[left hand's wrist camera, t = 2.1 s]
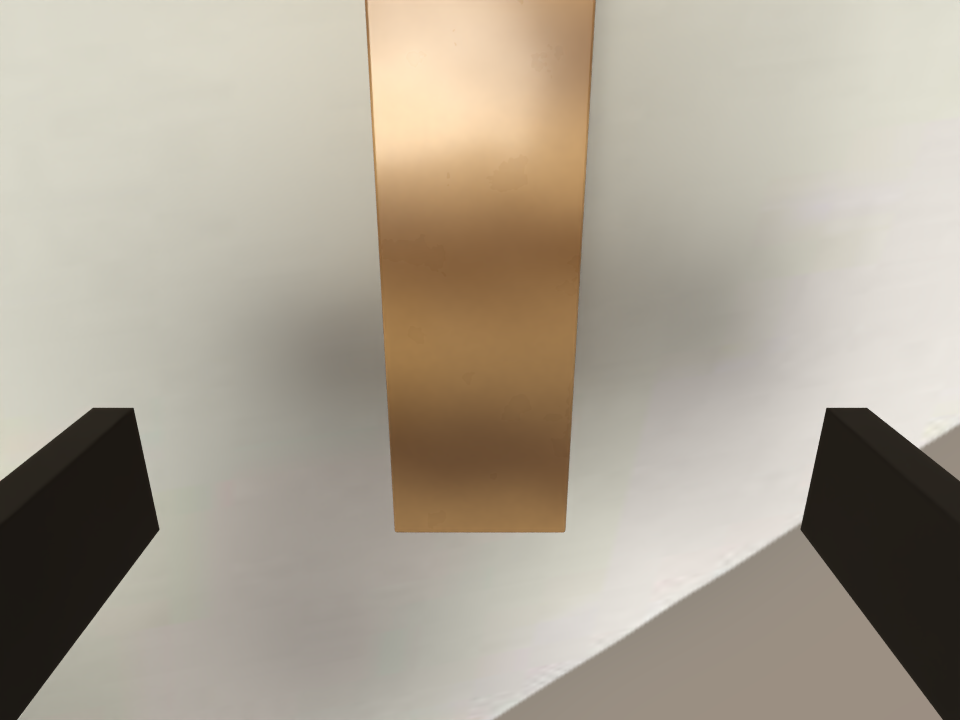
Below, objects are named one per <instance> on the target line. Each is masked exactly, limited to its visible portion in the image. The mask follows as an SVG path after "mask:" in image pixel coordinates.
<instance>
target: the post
mask: <svg viewBox="0 0 960 720" xmlns="http://www.w3.org/2000/svg"><path fill="white" fill-rule="evenodd" d="M595 5H596V0H365V11H366V28H367V46H368V64H369V82H370V100H371V117H372V135H373V153H374V171H375V188H376V206H377V224H378V242H379V259H380V277H381V295H382V313H383V330H384V348H385V366H386V384H387V401H388V419H389V437H390V455H391V472H392V490H393V508H394V526H395V532H565V528H566V510H567V493H568V475H569V458H570V441H571V423H572V406H573V388H574V371H575V353H576V336H577V319H578V301H579V284H580V266H581V249H582V232H583V214H584V197H585V179H586V162H587V144H588V127H589V110H590V92H591V75H592V57H593V40H594V23H595Z"/></svg>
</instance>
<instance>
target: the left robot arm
mask: <svg viewBox="0 0 960 720" xmlns="http://www.w3.org/2000/svg"><path fill="white" fill-rule="evenodd" d="M158 531H159V525H158V520H157V516H156V511H155V506H154V502H153V497H152V492H151V488H150V483H149V478H148V473H147V469H146V464H145V459H144V455H143V450H142V445H141V441H140V436H139V431H138V427H137V422H136V417H135V413H134V408H92V409H91V410H90V411H88V412H87V413H86V414H85V415H83V416H82V417H81V418H80V419H78V420H77V421H76V422H75V423H73V424H72V425H71V426H70V427H68V428H67V429H66V430H64V431H63V432H62V433H61V434H59V435H58V436H57V437H56V438H54V439H53V440H52V441H51V442H49V443H48V444H47V445H45V446H44V447H43V448H42V449H40V450H39V451H38V452H37V453H35V454H34V455H33V456H32V457H30V458H29V459H28V460H27V461H25V462H24V463H23V464H21V465H20V466H19V467H18V468H16V469H15V470H14V471H13V472H11V473H10V474H9V475H8V476H6V477H5V478H4V479H2V480H1V481H0V720H17V719H18V718H19V716H20V715H21V714H22V712H23V711H24V710H25V708H26V707H27V706H28V704H29V703H30V702H31V700H32V699H33V698H34V696H35V695H36V694H37V692H38V691H39V690H40V688H41V687H42V686H43V684H44V683H45V682H46V680H47V679H48V678H49V676H50V675H51V674H52V672H53V671H54V670H55V668H56V667H57V666H58V664H59V663H60V662H61V660H62V659H63V658H64V656H65V655H66V654H67V652H68V651H69V650H70V648H71V647H72V646H73V644H74V643H75V642H76V640H77V639H78V638H79V636H80V635H81V634H82V632H83V631H84V630H85V628H86V627H87V626H88V624H89V623H90V622H91V620H92V619H93V618H94V616H95V615H96V614H97V612H98V611H99V610H100V608H101V607H102V606H103V604H104V603H105V602H106V600H107V599H108V598H109V596H110V595H111V594H112V592H113V591H114V590H115V588H116V587H117V586H118V584H119V583H120V582H121V580H122V579H123V578H124V576H125V575H126V574H127V572H128V571H129V570H130V568H131V567H132V566H133V564H134V563H135V562H136V560H137V559H138V558H139V556H140V555H141V554H142V552H143V551H144V550H145V548H146V547H147V546H148V544H149V543H150V542H151V540H152V539H153V538H154V536H155V535H156V534H157V532H158ZM801 531H802V532H803V534H804V535H805V536H806V538H807V539H808V540H809V542H810V543H811V544H812V546H813V547H814V548H815V550H816V551H817V552H818V554H819V555H820V556H821V558H822V559H823V560H824V562H825V563H826V564H827V566H828V567H829V568H830V570H831V571H832V572H833V574H834V575H835V576H836V578H837V579H838V580H839V582H840V583H841V584H842V586H843V587H844V588H845V590H846V591H847V592H848V594H849V595H850V596H851V597H852V599H853V600H854V602H855V603H856V604H857V606H858V607H859V608H860V610H861V611H862V612H863V614H864V615H865V616H866V618H867V619H868V620H869V622H870V623H871V624H872V626H873V627H874V628H875V630H876V631H877V632H878V634H879V635H880V636H881V638H882V639H883V640H884V642H885V643H886V644H887V646H888V647H889V648H890V650H891V651H892V652H893V654H894V655H895V656H896V658H897V659H898V660H899V662H900V663H901V664H902V666H903V667H904V668H905V670H906V671H907V672H908V674H909V675H910V676H911V678H912V679H913V680H914V682H915V683H916V684H917V686H918V687H919V688H920V690H921V691H922V692H923V694H924V695H925V696H926V698H927V699H928V700H929V702H930V703H931V704H932V706H933V707H934V708H935V710H936V711H937V712H938V714H939V715H940V716H941V718H942V719H943V720H960V481H959V480H957V479H956V478H955V477H954V476H952V475H951V474H950V473H949V472H947V471H946V470H945V469H944V468H942V467H941V466H940V465H939V464H937V463H936V462H935V461H933V460H932V459H931V458H930V457H928V456H927V455H926V454H925V453H923V452H922V451H921V450H920V449H918V448H917V447H916V446H915V445H913V444H912V443H911V442H909V441H908V440H907V439H906V438H904V437H903V436H902V435H901V434H899V433H898V432H897V431H896V430H894V429H893V428H892V427H890V426H889V425H888V424H887V423H885V422H884V421H883V420H882V419H880V418H879V417H878V416H877V415H875V414H874V413H873V412H872V411H870V410H869V409H868V408H826V413H825V417H824V422H823V427H822V431H821V436H820V441H819V445H818V450H817V455H816V459H815V464H814V469H813V473H812V478H811V483H810V488H809V492H808V497H807V502H806V506H805V511H804V516H803V520H802V525H801Z"/></svg>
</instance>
